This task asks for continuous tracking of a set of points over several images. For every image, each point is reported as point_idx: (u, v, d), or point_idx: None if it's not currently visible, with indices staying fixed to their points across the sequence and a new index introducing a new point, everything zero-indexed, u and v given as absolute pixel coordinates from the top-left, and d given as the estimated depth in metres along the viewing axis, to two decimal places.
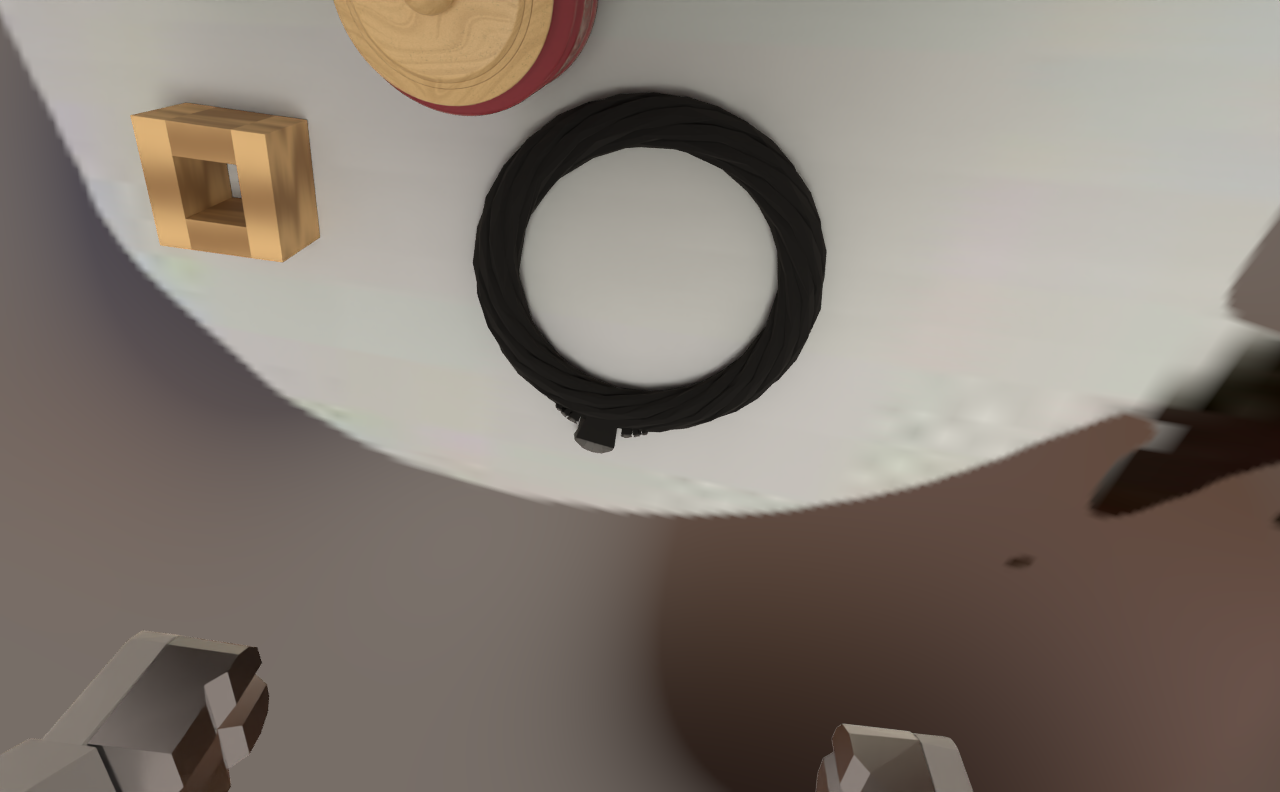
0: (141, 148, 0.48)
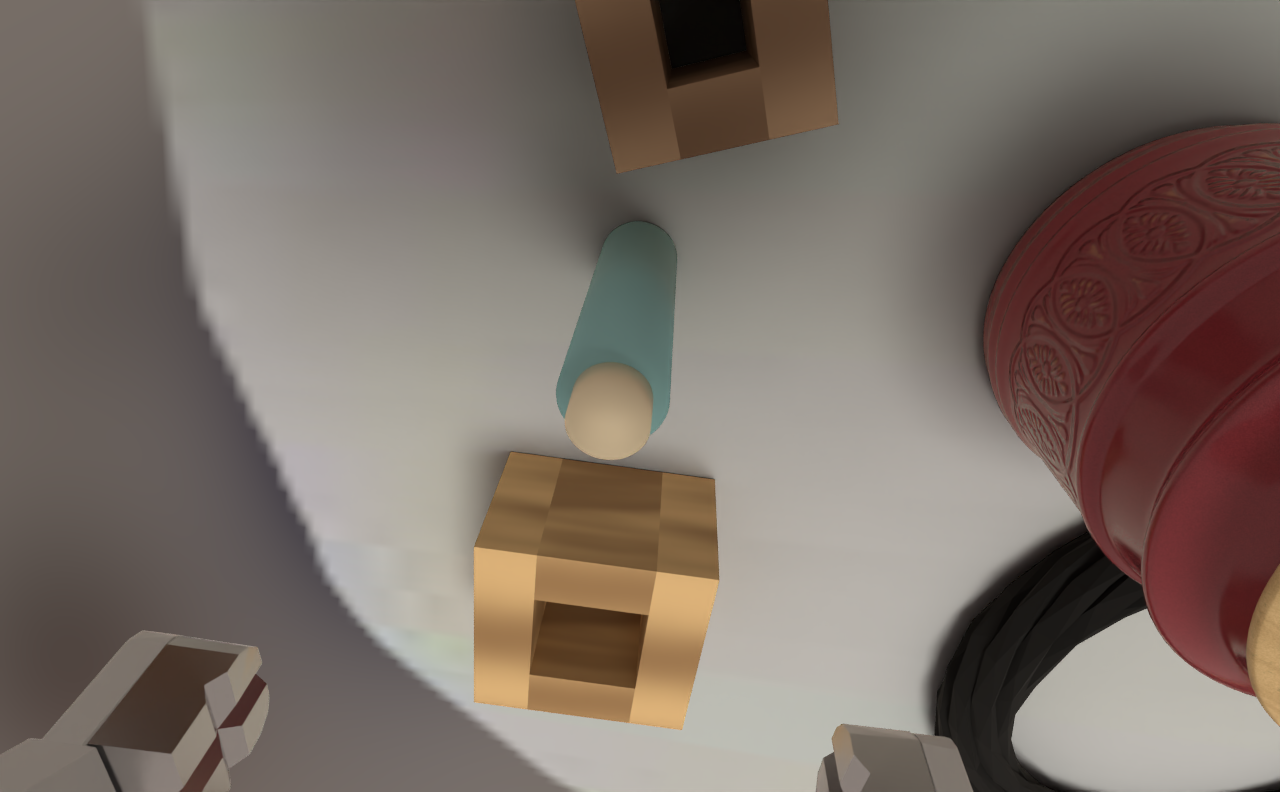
0: (480, 589, 0.27)
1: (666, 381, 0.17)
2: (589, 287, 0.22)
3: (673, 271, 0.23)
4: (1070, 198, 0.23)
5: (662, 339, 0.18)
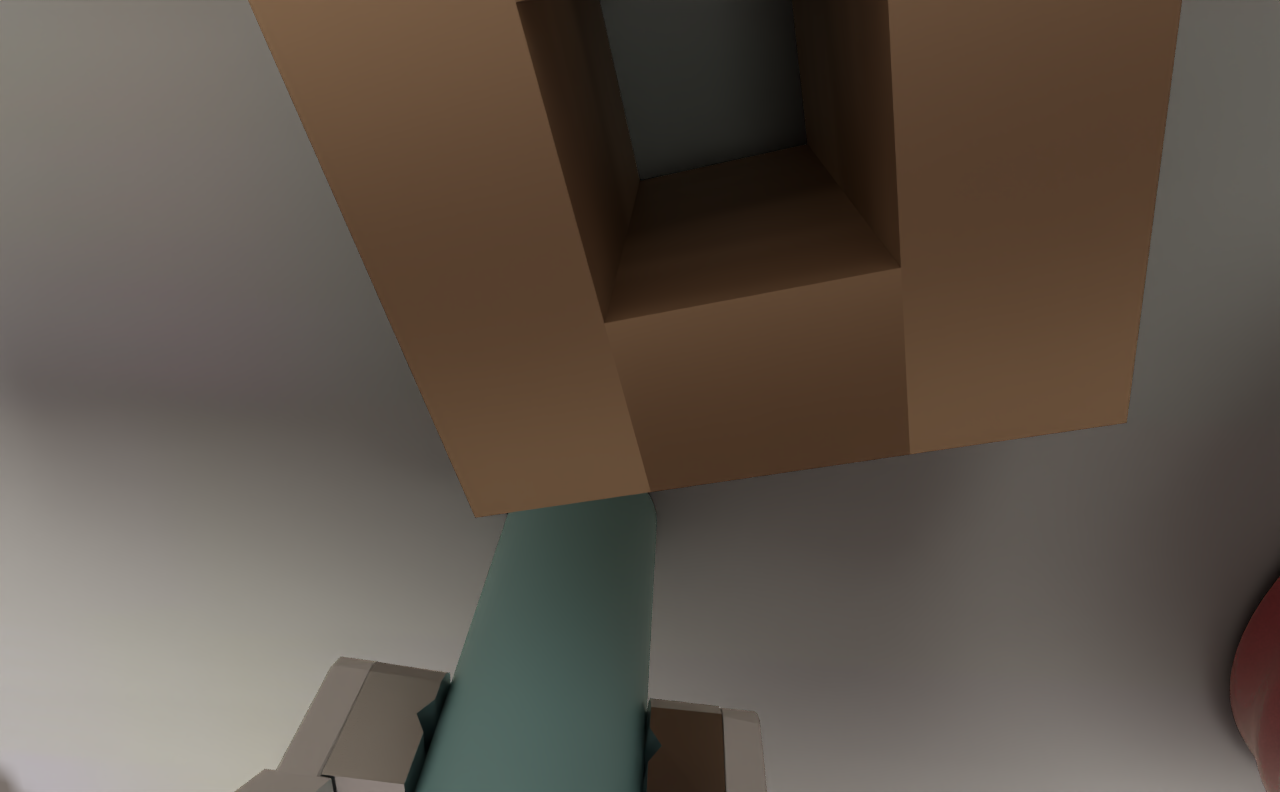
0: None
1: None
2: (447, 697, 0.09)
3: (646, 603, 0.11)
4: None
5: None
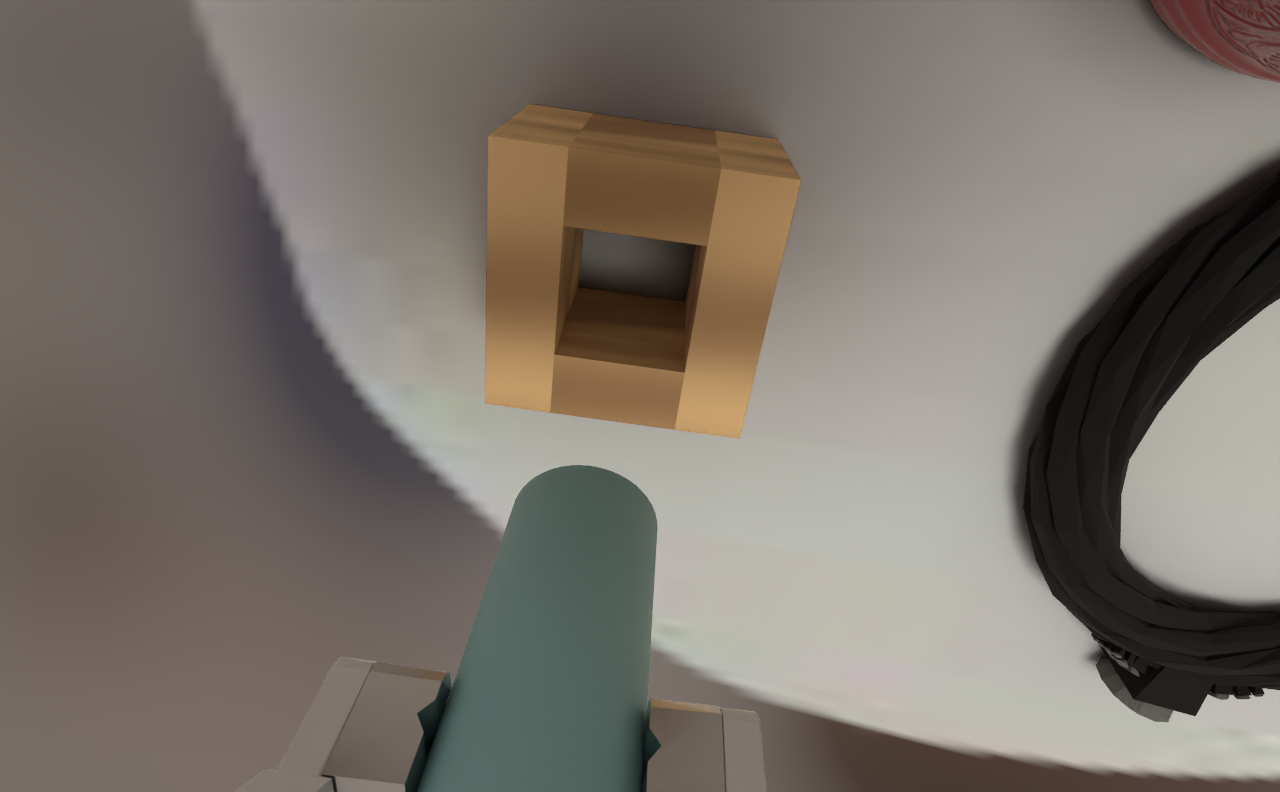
0: (495, 210, 0.21)
1: None
2: (447, 704, 0.09)
3: (646, 610, 0.11)
4: None
5: None
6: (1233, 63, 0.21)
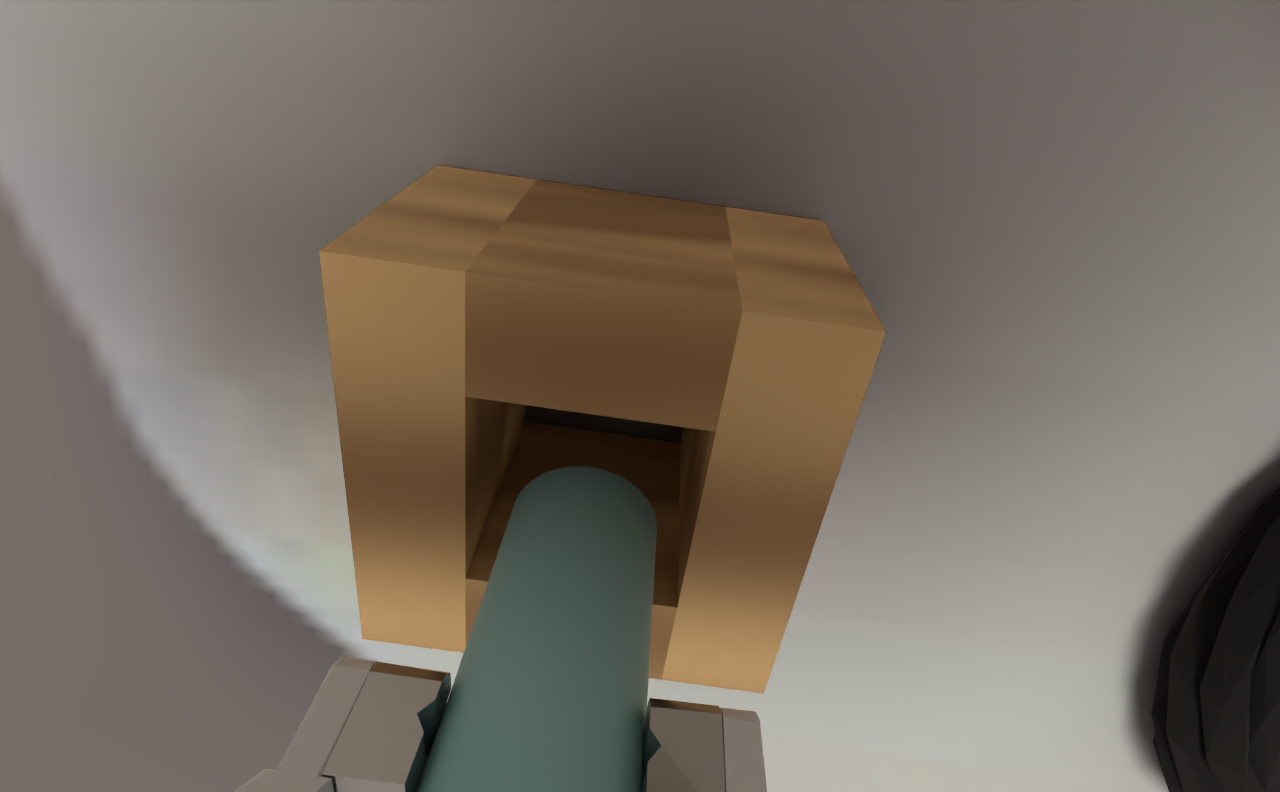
0: (346, 370, 0.12)
1: None
2: (447, 705, 0.09)
3: (645, 610, 0.11)
4: None
5: None
6: None
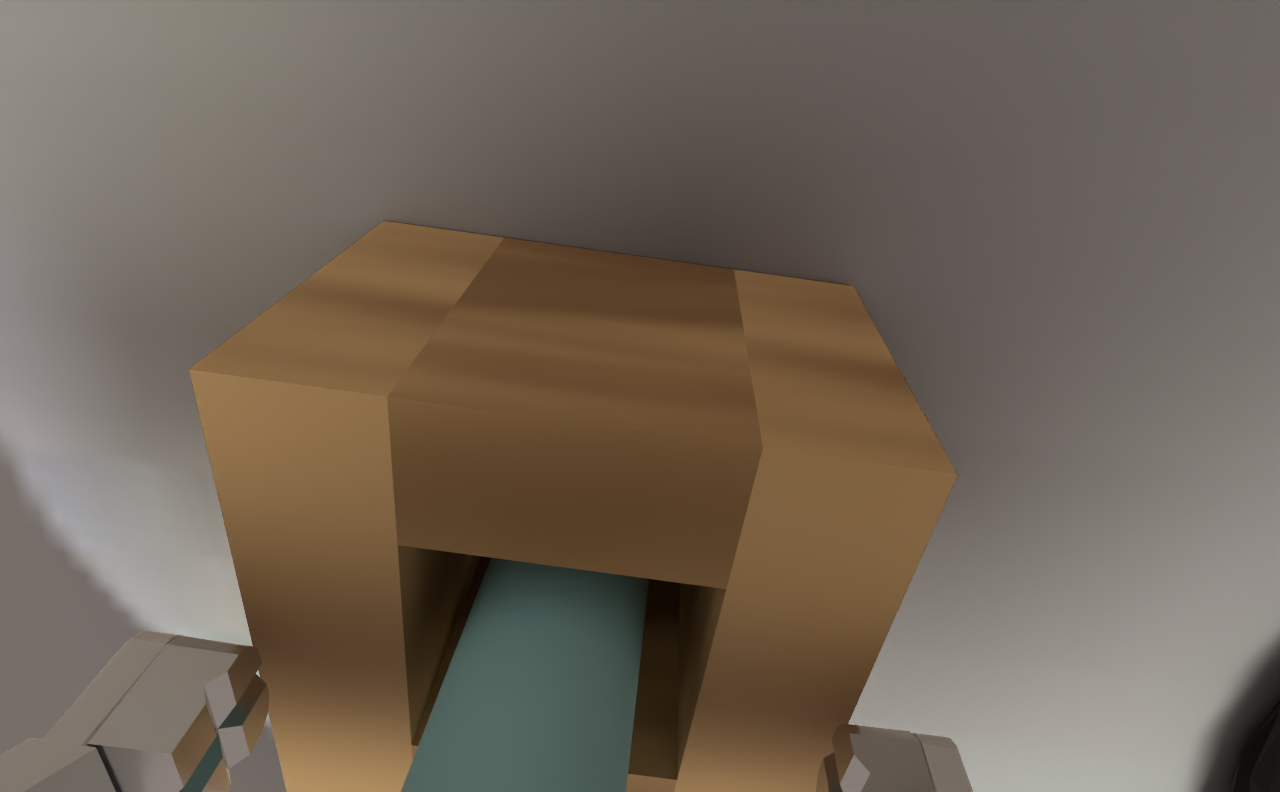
0: (239, 512, 0.09)
1: None
2: (485, 572, 0.12)
3: None
4: None
5: None
6: None
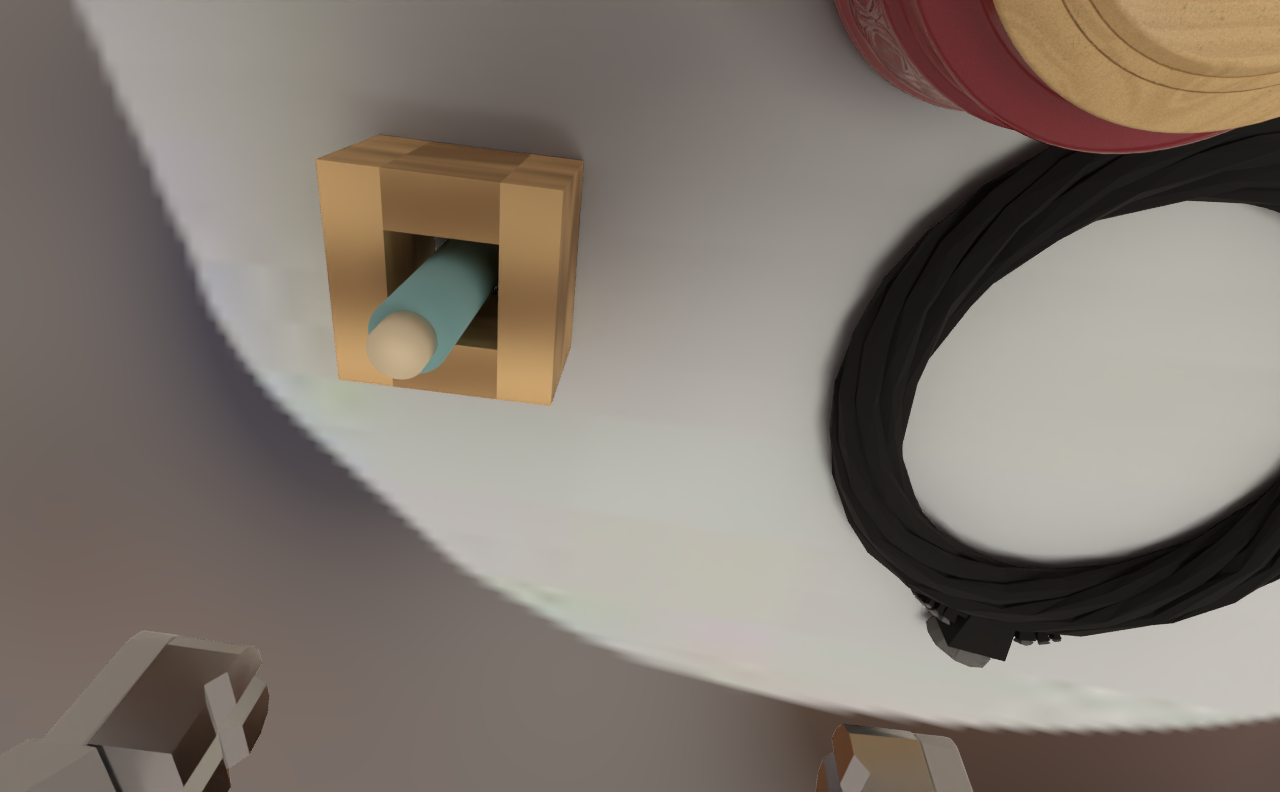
0: (328, 218, 0.26)
1: (444, 324, 0.24)
2: None
3: (496, 257, 0.30)
4: None
5: (452, 298, 0.25)
6: (913, 95, 0.26)
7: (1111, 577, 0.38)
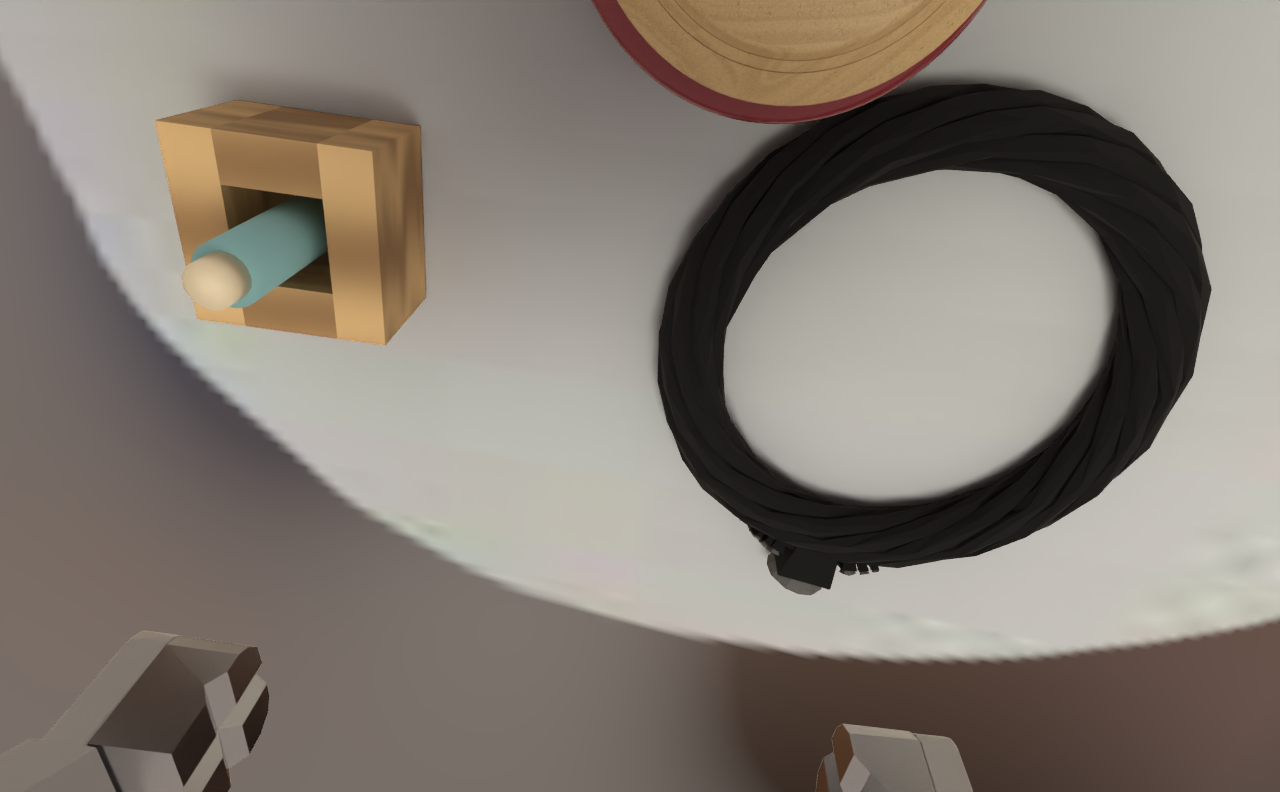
0: (171, 173, 0.30)
1: (256, 264, 0.28)
2: None
3: None
4: None
5: (272, 243, 0.29)
6: None
7: (923, 514, 0.42)
